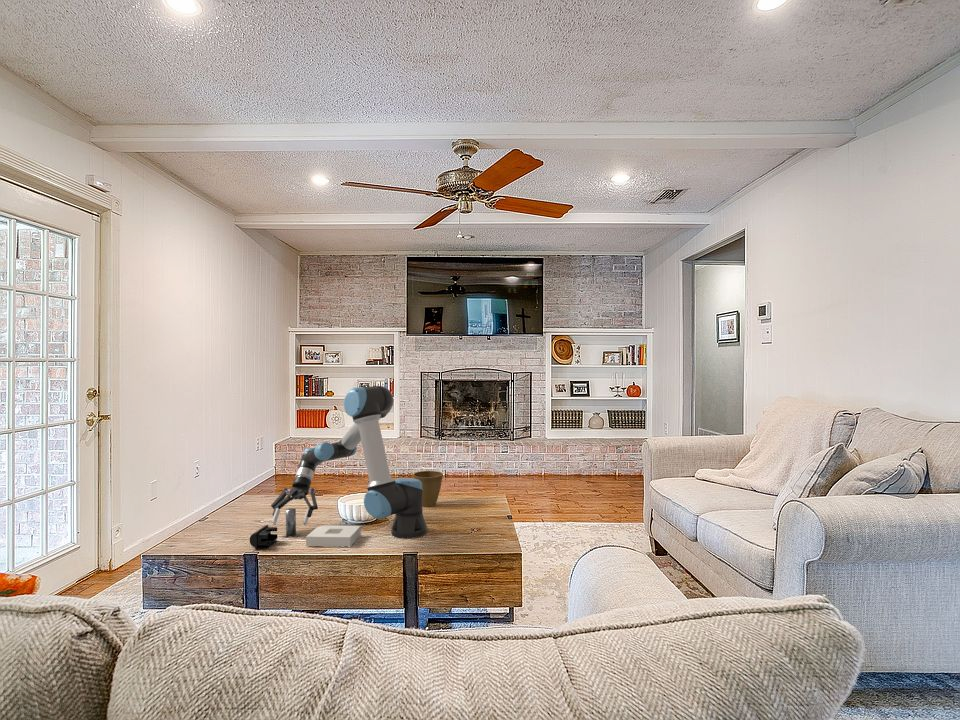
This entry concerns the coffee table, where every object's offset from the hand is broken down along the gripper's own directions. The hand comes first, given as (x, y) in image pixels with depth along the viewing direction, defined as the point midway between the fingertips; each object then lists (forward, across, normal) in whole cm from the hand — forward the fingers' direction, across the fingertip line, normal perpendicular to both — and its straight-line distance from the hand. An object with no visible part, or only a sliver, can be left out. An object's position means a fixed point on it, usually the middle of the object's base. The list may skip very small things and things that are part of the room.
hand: (289, 523), depth 226 cm
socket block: (+7, -21, 0) cm, 22 cm away
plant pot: (-30, -51, -38) cm, 71 cm away
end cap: (+12, +6, +4) cm, 13 cm away
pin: (+3, 0, -5) cm, 6 cm away
